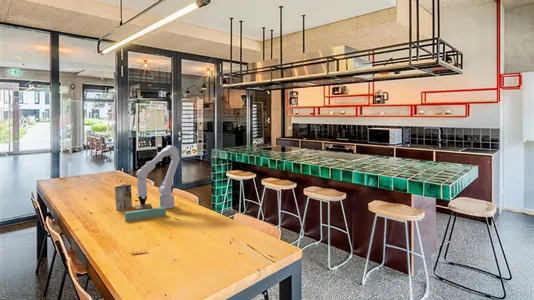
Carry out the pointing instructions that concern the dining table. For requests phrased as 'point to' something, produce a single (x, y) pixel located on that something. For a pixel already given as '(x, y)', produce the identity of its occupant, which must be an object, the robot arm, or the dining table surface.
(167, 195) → the robot arm
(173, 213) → the dining table surface
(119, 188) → the coffee box
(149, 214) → the teal board
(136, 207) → the walnut block
